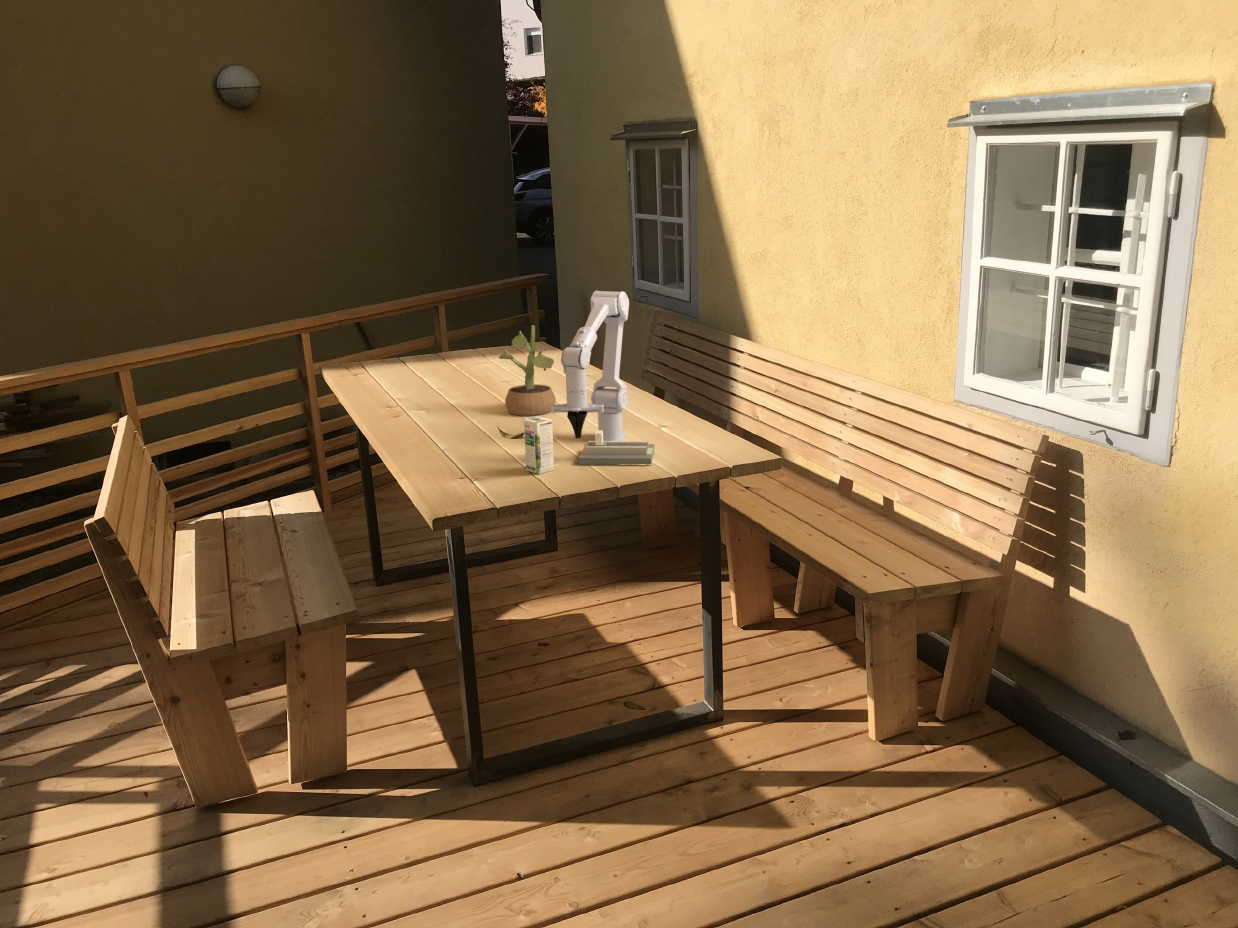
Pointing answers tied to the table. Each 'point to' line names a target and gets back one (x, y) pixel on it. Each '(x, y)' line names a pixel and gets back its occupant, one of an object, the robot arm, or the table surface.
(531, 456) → the syrup box
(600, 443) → the breaker handle
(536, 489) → the table surface
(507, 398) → the potted plant
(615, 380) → the robot arm
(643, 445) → the breaker panel
